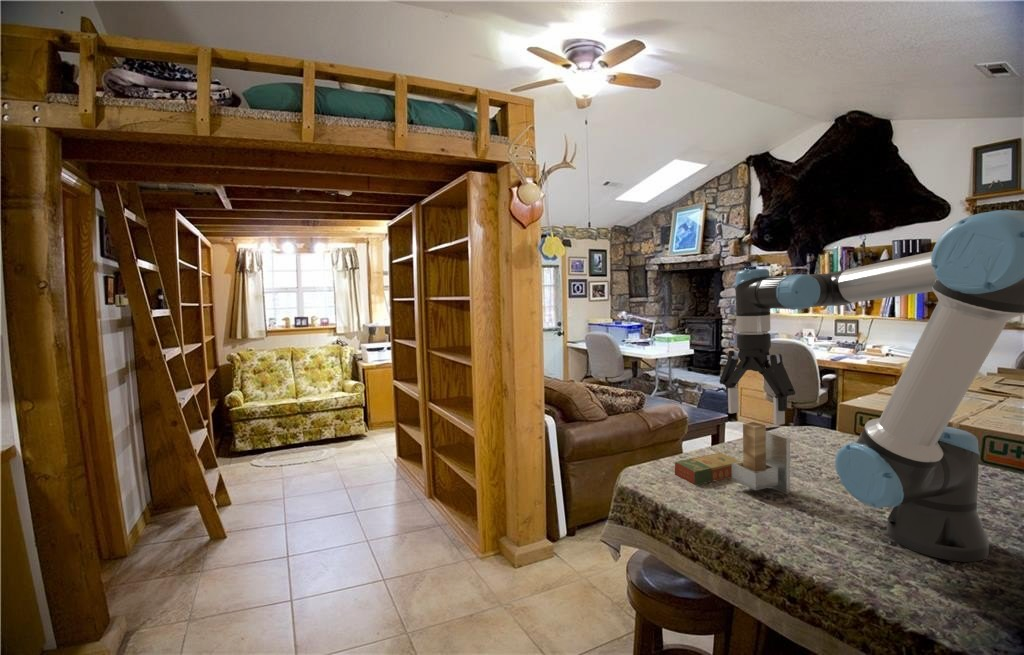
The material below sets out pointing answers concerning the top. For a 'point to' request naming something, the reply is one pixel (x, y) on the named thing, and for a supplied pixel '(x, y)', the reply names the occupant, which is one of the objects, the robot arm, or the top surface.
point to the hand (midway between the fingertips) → (755, 418)
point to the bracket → (768, 467)
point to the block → (754, 446)
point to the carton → (705, 468)
